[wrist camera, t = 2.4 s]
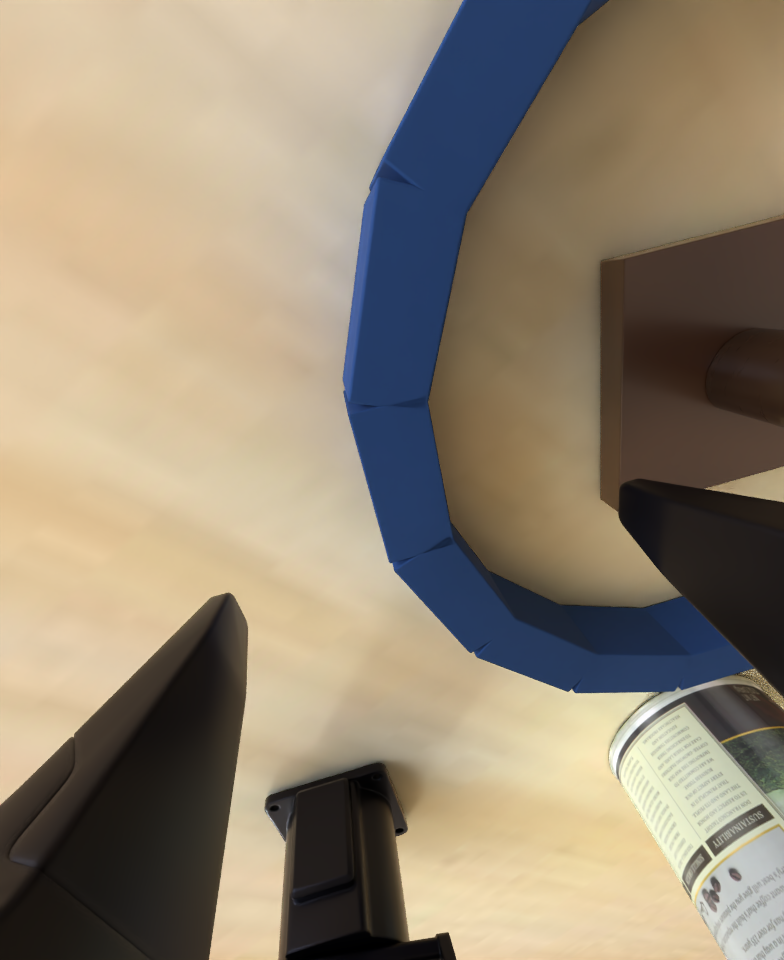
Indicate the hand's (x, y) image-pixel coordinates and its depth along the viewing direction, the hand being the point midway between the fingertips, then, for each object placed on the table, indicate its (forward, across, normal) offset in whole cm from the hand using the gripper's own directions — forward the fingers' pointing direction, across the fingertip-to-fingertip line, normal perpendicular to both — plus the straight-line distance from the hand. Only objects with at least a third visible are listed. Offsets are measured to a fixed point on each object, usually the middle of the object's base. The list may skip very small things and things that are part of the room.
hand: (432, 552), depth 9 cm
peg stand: (+6, -12, 0) cm, 14 cm away
